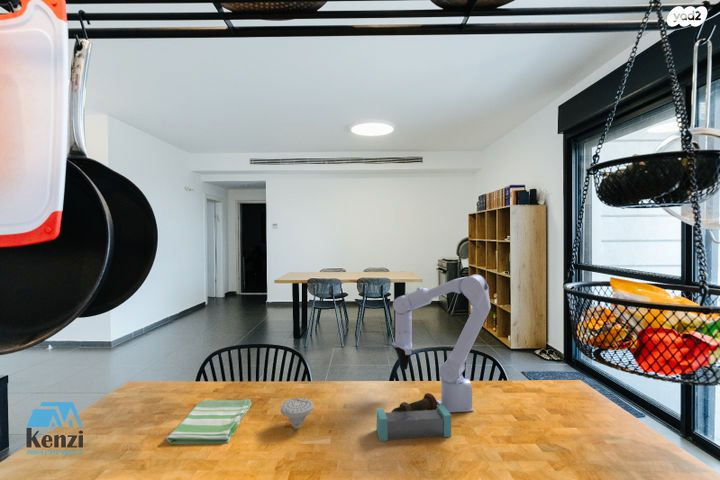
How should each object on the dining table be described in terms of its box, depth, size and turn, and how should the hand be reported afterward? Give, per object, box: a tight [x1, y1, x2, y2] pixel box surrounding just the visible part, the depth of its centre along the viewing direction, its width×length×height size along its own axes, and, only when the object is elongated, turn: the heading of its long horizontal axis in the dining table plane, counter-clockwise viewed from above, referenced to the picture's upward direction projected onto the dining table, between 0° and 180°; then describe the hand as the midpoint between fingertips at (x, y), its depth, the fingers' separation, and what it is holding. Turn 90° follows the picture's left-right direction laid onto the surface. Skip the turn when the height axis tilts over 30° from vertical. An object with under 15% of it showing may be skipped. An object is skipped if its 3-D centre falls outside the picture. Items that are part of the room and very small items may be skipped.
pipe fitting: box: [376, 404, 452, 442], centre depth 101 cm, size 20×6×6 cm, turn 97°
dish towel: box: [165, 398, 253, 445], centre depth 107 cm, size 18×23×3 cm
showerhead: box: [280, 397, 314, 429], centre depth 104 cm, size 9×7×10 cm
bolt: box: [390, 392, 438, 412], centre depth 111 cm, size 6×5×15 cm
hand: (403, 368), depth 125 cm, fingers closed
